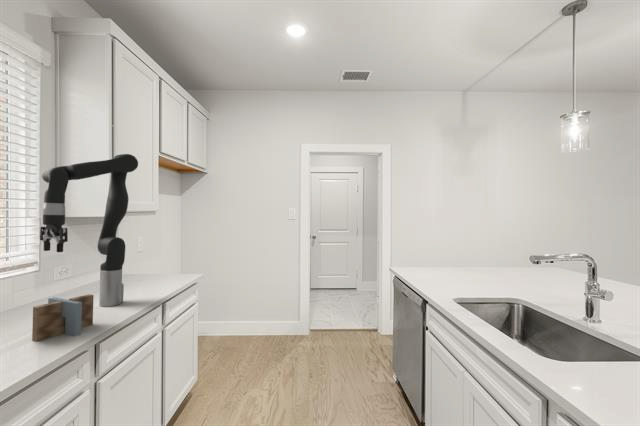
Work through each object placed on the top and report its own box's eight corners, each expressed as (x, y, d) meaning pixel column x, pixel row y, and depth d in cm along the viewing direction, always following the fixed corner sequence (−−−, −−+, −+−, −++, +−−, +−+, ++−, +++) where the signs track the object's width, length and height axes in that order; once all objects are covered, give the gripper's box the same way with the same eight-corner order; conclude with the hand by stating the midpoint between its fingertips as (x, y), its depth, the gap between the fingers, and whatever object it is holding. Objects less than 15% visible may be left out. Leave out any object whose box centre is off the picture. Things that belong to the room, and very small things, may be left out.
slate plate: (53, 327, 131) (54, 297, 131) (81, 334, 126) (81, 302, 126) (47, 329, 129) (48, 298, 129) (75, 336, 124) (76, 303, 124)
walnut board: (88, 323, 137) (89, 294, 137) (92, 324, 136) (93, 294, 136) (32, 340, 119) (33, 306, 118) (36, 341, 118) (37, 307, 118)
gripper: (74, 214, 145) (73, 251, 145) (53, 213, 150) (52, 249, 150) (55, 214, 138) (54, 253, 138) (33, 213, 143) (32, 251, 143)
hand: (53, 251), depth 144 cm, fingers open, 8 cm apart
